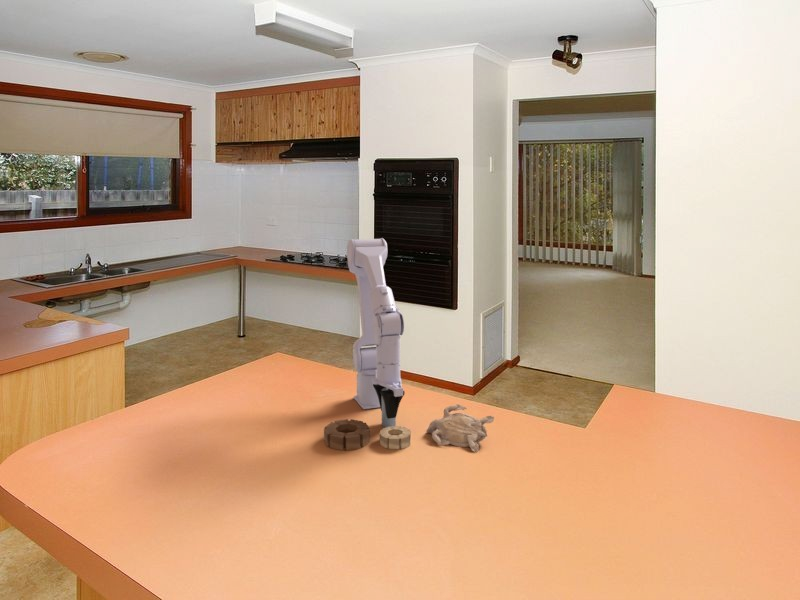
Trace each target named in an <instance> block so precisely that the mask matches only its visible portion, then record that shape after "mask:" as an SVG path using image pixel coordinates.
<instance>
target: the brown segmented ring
mask: <svg viewBox="0 0 800 600" xmlns="http://www.w3.org/2000/svg"><path fill="white" fill-rule="evenodd" d="M323 439H324V440H323V441H324V443H325V444H326V446H327V447H329V448H330V449H334V450H338V451H344V450H346V451H352V450H357V449H361V447H362V448H364V447H366V445H367V444H369V442H370V441H371V440H370V439H371V427H370V426H369V425H368V423H367V422H364V421H363V420H357V419H350V420H349V418H347V419H340V420H334V421H332V422H330V423H328V424H327V425H325V426H324V429H323Z"/></svg>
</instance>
